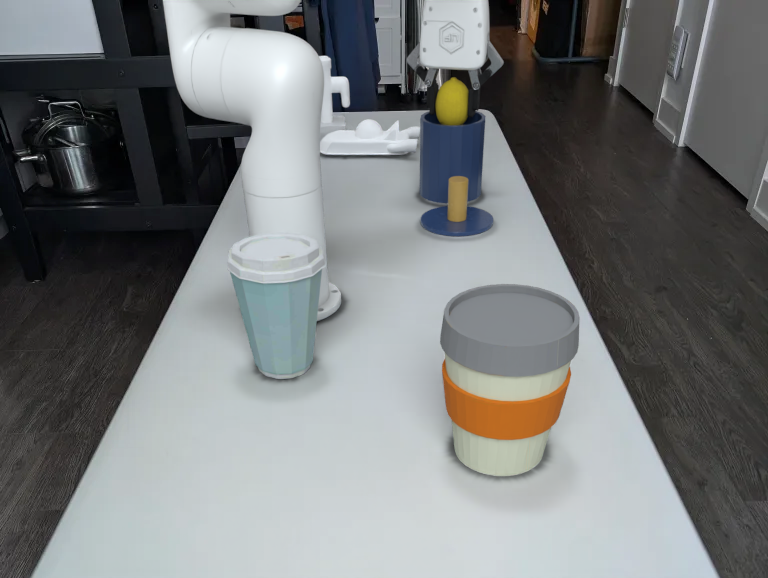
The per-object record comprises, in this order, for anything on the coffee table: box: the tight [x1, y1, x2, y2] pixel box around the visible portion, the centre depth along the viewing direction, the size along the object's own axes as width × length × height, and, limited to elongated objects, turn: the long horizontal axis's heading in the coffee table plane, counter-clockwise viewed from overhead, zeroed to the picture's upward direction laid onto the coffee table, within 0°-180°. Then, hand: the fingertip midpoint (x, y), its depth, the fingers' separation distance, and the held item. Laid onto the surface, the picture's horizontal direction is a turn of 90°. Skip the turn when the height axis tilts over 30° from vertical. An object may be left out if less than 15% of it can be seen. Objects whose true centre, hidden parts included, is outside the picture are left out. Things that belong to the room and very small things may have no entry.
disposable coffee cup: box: [226, 232, 325, 380], centre depth 89 cm, size 11×11×15 cm
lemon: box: [435, 76, 469, 125], centre depth 127 cm, size 6×6×8 cm
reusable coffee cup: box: [439, 283, 580, 477], centre depth 76 cm, size 13×12×15 cm
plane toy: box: [320, 118, 420, 156], centre depth 154 cm, size 10×20×6 cm, turn 84°
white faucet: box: [318, 55, 351, 142], centre depth 156 cm, size 7×9×15 cm
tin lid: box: [420, 176, 494, 237], centre depth 124 cm, size 11×11×7 cm
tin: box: [419, 110, 486, 205], centre depth 132 cm, size 10×10×12 cm
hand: (452, 112), depth 128 cm, fingers closed on lemon, 5 cm apart
